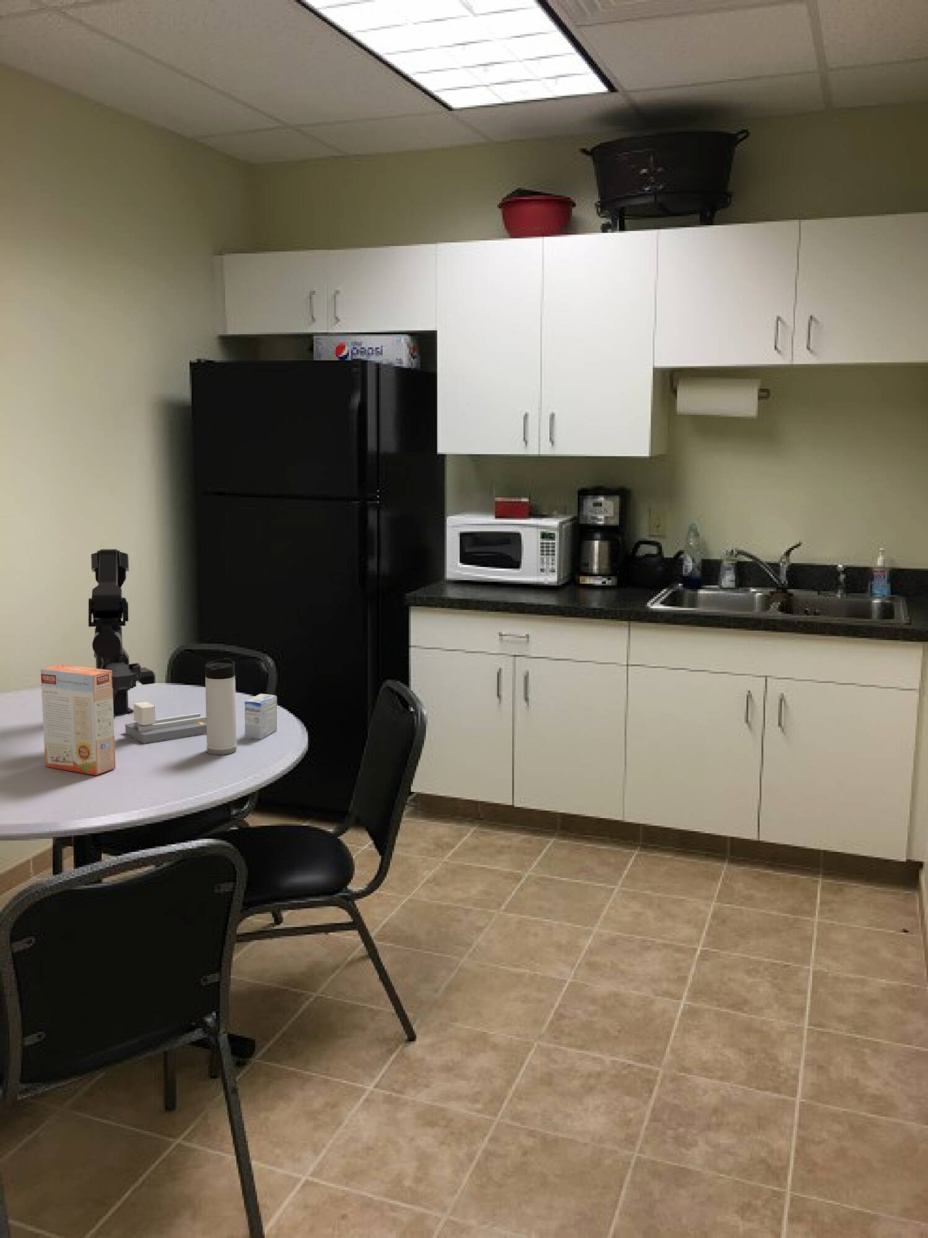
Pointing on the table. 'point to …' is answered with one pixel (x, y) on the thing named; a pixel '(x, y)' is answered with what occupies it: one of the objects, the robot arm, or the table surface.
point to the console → (168, 728)
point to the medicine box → (260, 716)
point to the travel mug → (220, 706)
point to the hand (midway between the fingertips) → (111, 718)
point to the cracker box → (78, 719)
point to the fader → (144, 713)
